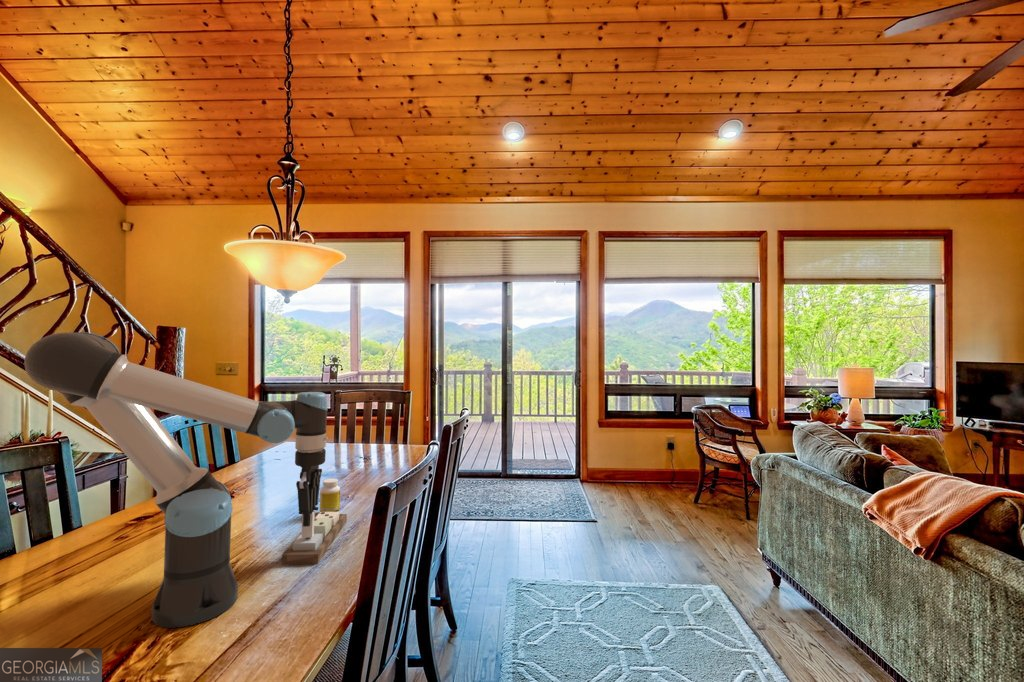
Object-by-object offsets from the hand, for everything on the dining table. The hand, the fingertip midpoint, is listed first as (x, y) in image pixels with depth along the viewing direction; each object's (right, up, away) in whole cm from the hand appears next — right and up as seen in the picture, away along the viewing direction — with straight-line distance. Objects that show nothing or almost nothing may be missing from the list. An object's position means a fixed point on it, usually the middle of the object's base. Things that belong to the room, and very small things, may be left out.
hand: (307, 536), depth 119 cm
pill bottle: (-6, -5, +29) cm, 30 cm away
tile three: (-2, -4, +16) cm, 17 cm away
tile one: (0, -4, 0) cm, 4 cm away
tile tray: (-1, -5, +8) cm, 9 cm away
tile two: (-1, -3, +8) cm, 8 cm away
